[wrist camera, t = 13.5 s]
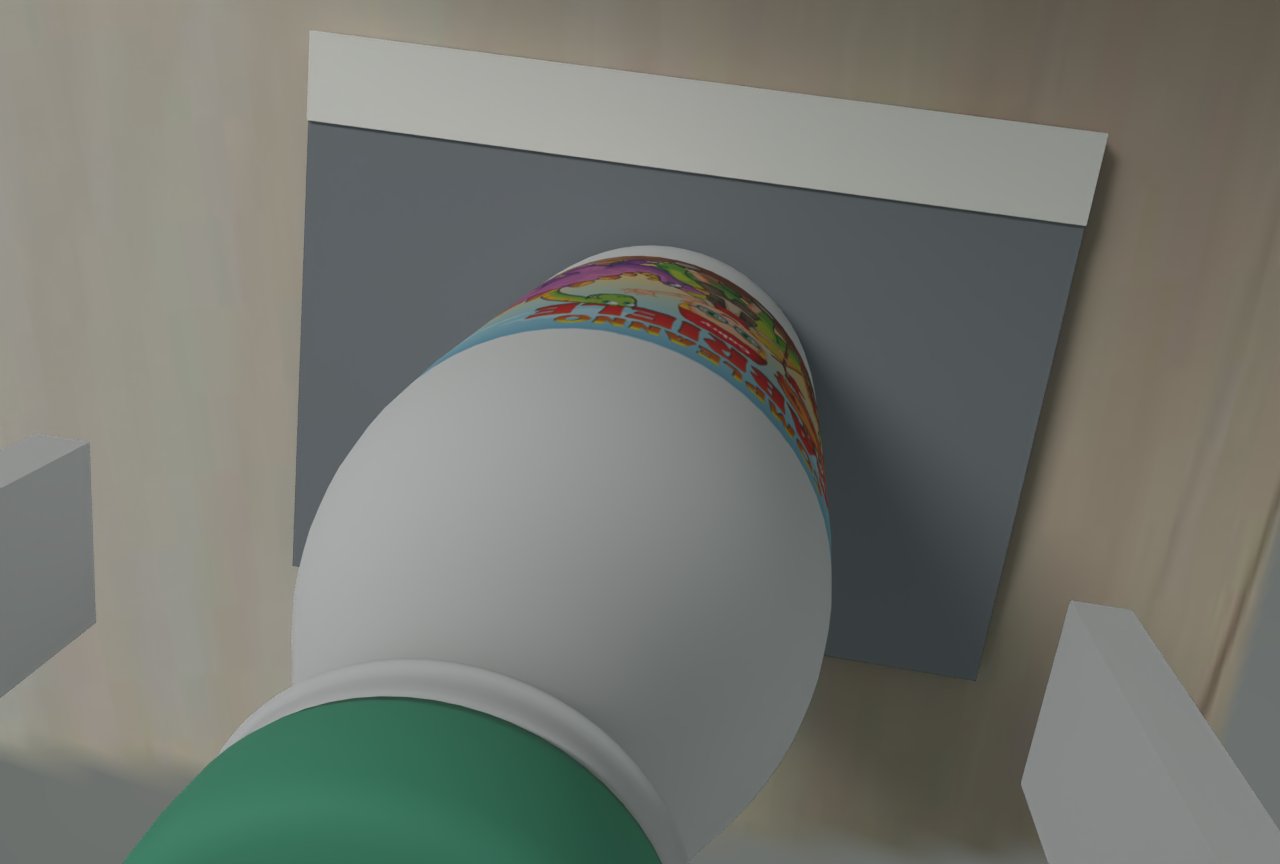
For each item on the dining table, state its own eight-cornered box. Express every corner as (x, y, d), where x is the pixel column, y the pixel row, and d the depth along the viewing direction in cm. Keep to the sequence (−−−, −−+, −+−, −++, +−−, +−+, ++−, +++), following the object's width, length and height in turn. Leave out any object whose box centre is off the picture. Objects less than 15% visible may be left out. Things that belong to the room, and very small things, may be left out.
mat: (301, 557, 30) (291, 567, 29) (321, 31, 26) (310, 30, 25) (971, 669, 29) (976, 682, 28) (1099, 132, 25) (1108, 133, 24)
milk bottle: (753, 589, 28) (698, 1600, 9) (465, 491, 28) (-188, 1274, 9) (861, 301, 26) (1097, 829, 7) (547, 197, 26) (-98, 422, 7)
